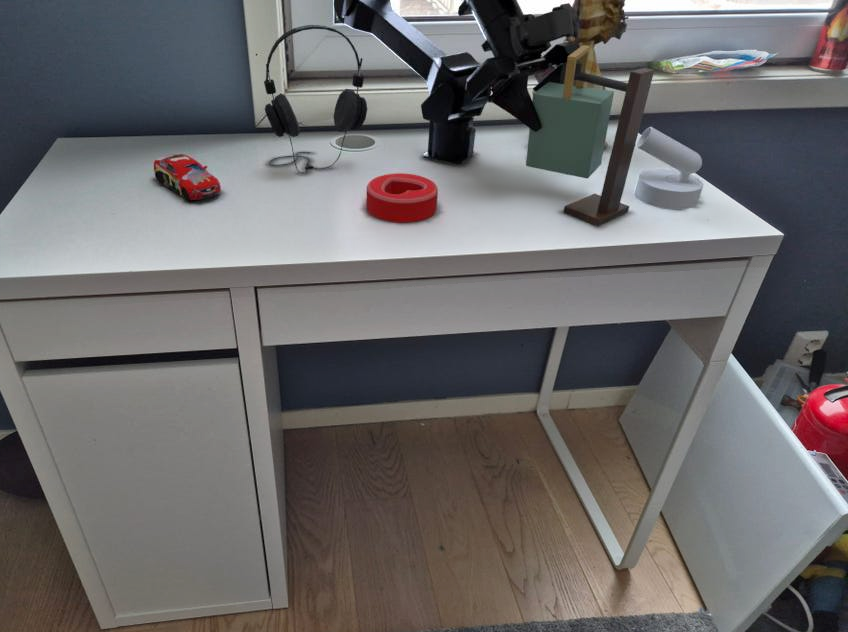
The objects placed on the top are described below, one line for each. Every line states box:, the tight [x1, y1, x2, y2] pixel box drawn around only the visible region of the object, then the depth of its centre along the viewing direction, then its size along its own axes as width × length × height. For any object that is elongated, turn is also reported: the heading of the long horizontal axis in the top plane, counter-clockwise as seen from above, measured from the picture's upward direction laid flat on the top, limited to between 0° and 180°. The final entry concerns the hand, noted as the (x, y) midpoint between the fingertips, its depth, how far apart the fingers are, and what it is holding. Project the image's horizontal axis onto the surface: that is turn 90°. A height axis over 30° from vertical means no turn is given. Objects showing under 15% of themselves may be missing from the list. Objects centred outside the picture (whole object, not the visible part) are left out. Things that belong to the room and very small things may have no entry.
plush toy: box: [532, 0, 629, 148], centre depth 106 cm, size 14×14×25 cm
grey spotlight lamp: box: [634, 126, 704, 210], centre depth 91 cm, size 9×10×10 cm
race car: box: [153, 153, 222, 202], centre depth 93 cm, size 13×5×4 cm, turn 39°
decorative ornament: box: [365, 172, 439, 224], centre depth 89 cm, size 10×10×3 cm
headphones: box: [263, 24, 368, 174], centre depth 97 cm, size 15×11×20 cm
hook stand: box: [562, 62, 655, 228], centre depth 85 cm, size 10×7×19 cm
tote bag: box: [525, 45, 615, 180], centre depth 87 cm, size 9×5×15 cm, turn 56°
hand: (552, 125), depth 89 cm, fingers closed on tote bag, 6 cm apart
